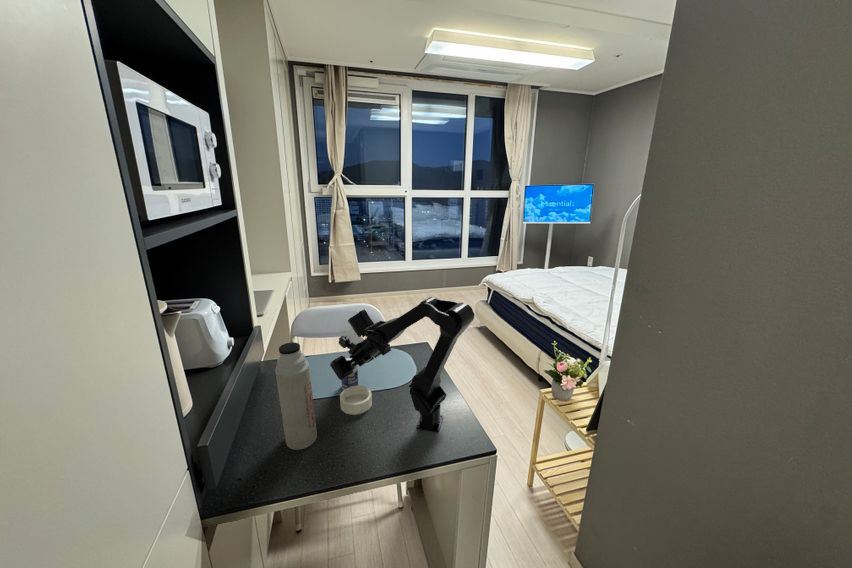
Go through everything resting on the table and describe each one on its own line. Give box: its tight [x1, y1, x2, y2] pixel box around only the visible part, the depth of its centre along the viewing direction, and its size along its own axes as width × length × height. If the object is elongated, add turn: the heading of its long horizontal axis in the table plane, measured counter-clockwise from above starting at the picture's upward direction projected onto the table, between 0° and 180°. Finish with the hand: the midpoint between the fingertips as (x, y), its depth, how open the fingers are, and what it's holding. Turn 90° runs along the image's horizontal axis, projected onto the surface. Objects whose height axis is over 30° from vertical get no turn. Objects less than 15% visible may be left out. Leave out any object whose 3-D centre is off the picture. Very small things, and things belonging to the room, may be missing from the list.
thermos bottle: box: [274, 341, 318, 451], centre depth 90 cm, size 8×8×28 cm
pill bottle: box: [341, 357, 359, 390], centre depth 115 cm, size 5×5×10 cm
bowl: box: [339, 385, 373, 416], centre depth 107 cm, size 10×10×4 cm
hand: (346, 367), depth 115 cm, fingers closed on pill bottle, 5 cm apart
